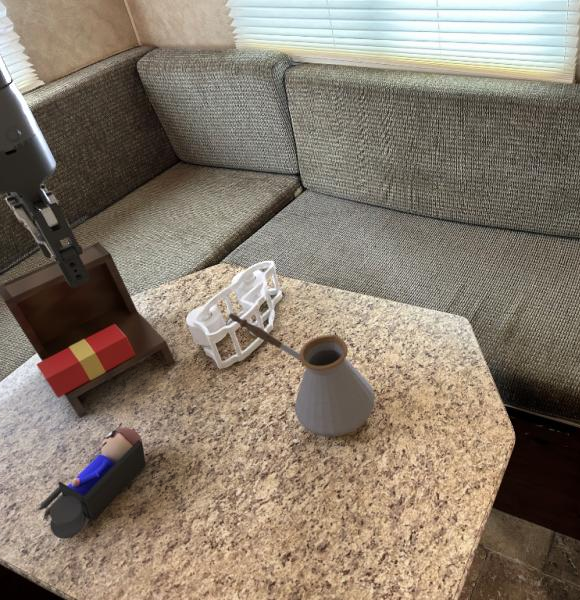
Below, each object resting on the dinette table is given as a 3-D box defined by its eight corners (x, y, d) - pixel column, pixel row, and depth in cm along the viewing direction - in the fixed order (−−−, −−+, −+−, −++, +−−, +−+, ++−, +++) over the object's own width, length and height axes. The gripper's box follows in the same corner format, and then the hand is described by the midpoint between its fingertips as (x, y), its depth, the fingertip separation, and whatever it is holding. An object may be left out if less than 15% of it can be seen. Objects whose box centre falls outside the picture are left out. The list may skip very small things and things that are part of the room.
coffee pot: (390, 398, 90) (379, 322, 80) (352, 457, 82) (335, 381, 73) (273, 361, 98) (251, 288, 89) (229, 412, 90) (199, 338, 81)
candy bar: (58, 398, 89) (45, 379, 86) (48, 382, 91) (35, 363, 89) (135, 355, 94) (126, 336, 92) (124, 342, 97) (114, 323, 95)
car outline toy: (259, 285, 114) (250, 253, 110) (305, 301, 110) (298, 268, 105) (181, 353, 102) (167, 320, 97) (230, 373, 97) (218, 340, 92)
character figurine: (47, 534, 77) (135, 447, 87) (83, 555, 74) (171, 461, 84) (15, 498, 73) (112, 409, 83) (52, 518, 69) (149, 423, 79)
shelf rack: (79, 418, 92) (26, 335, 81) (45, 366, 102) (-6, 287, 91) (175, 362, 100) (139, 280, 89) (135, 319, 110) (98, 241, 99)
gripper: (-62, 129, 62) (15, 259, 72) (-27, 170, 53) (55, 311, 63) (15, 105, 65) (78, 232, 75) (59, 140, 57) (123, 278, 67)
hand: (67, 268), depth 69 cm, fingers open, 8 cm apart
